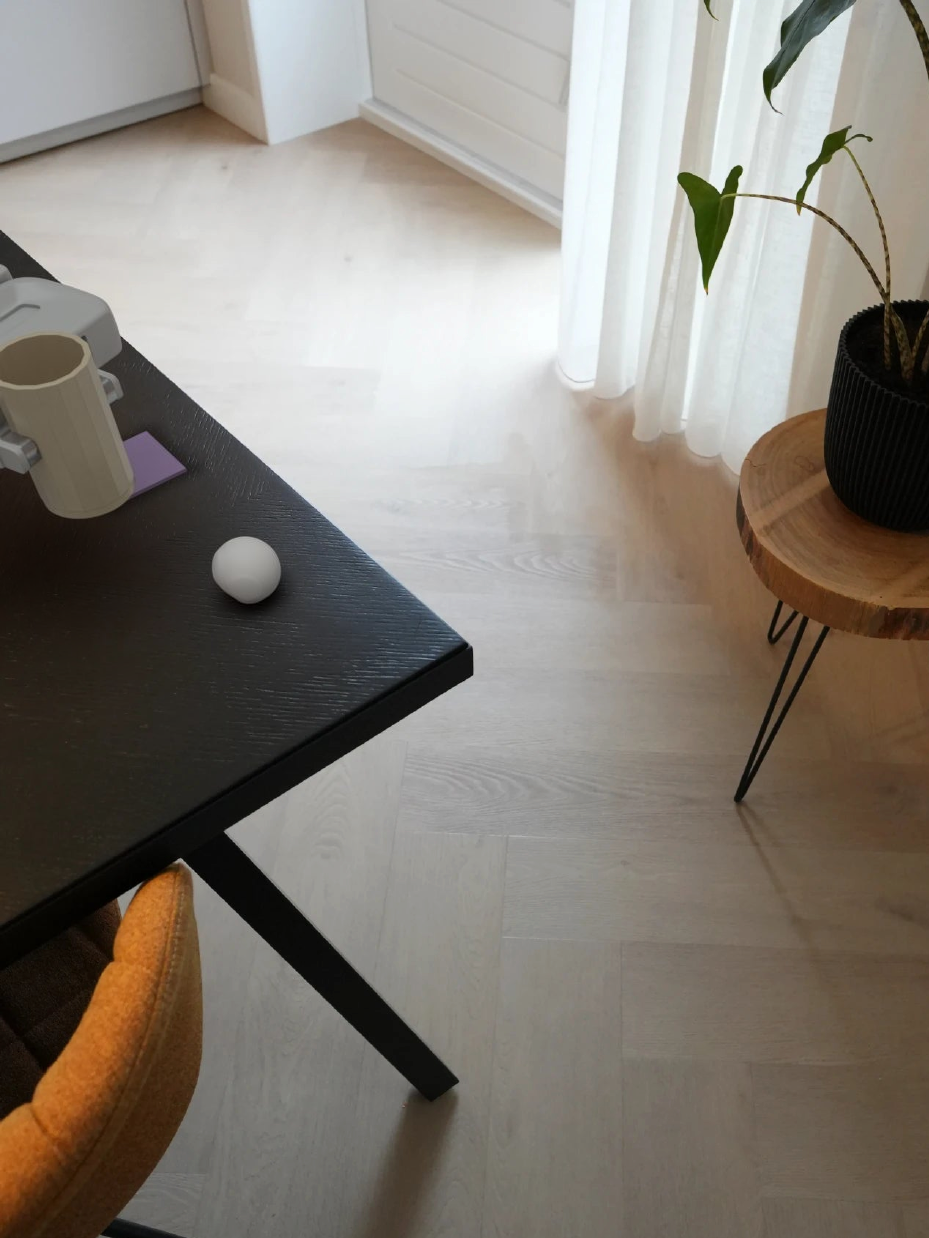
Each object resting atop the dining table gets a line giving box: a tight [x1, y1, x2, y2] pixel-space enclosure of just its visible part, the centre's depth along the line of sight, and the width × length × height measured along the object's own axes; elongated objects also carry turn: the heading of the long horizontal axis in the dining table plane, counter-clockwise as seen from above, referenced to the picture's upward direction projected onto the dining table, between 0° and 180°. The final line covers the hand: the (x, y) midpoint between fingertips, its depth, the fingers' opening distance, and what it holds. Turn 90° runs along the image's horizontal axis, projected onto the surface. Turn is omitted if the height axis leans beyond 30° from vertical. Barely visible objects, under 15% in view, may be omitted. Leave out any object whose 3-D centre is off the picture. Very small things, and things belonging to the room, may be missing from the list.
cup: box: [0, 331, 136, 520], centre depth 72 cm, size 6×6×10 cm
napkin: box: [122, 430, 188, 501], centre depth 94 cm, size 7×7×1 cm
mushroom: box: [211, 536, 282, 605], centre depth 83 cm, size 5×5×5 cm
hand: (73, 424), depth 71 cm, fingers closed on cup, 6 cm apart
